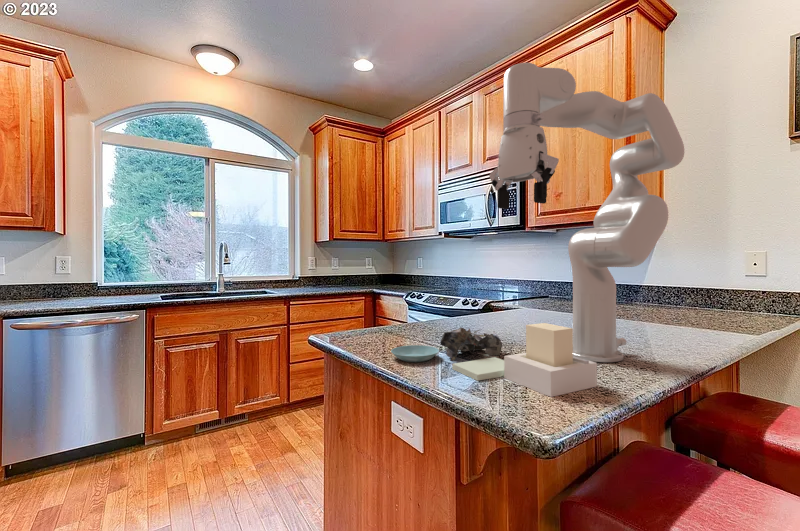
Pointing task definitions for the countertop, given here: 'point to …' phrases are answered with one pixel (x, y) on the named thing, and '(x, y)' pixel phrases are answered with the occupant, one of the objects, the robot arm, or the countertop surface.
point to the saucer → (415, 353)
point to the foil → (470, 342)
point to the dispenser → (550, 375)
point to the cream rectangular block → (549, 344)
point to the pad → (481, 368)
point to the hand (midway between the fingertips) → (520, 205)
